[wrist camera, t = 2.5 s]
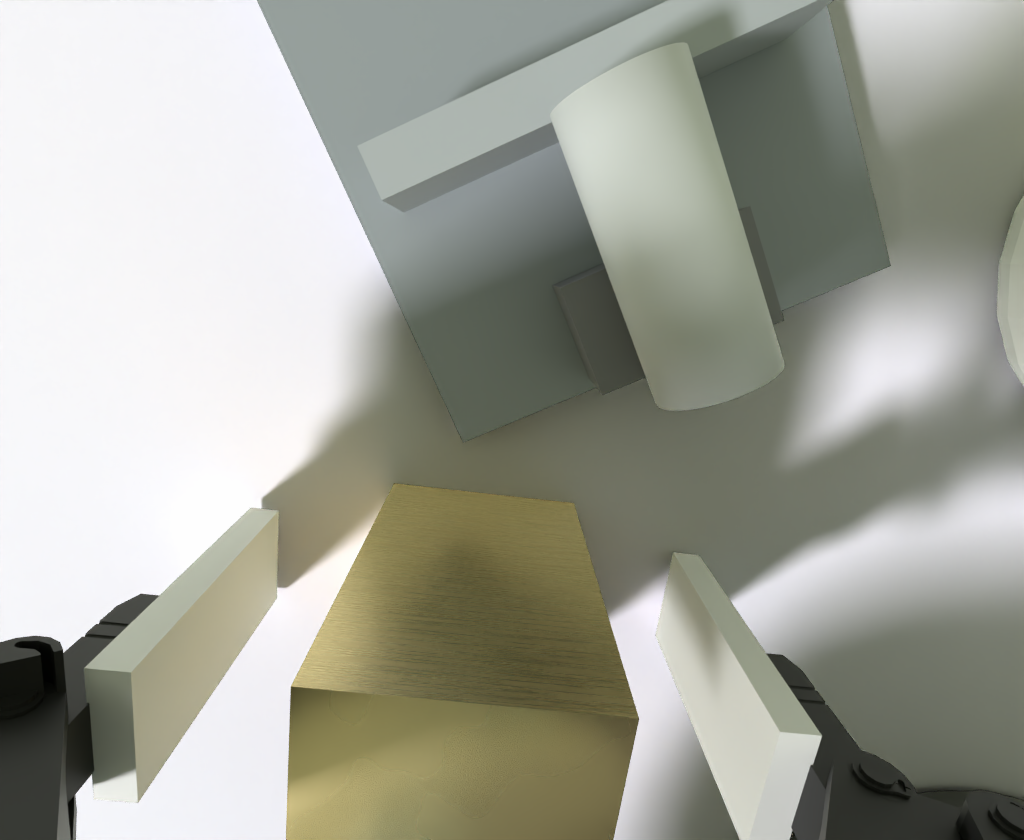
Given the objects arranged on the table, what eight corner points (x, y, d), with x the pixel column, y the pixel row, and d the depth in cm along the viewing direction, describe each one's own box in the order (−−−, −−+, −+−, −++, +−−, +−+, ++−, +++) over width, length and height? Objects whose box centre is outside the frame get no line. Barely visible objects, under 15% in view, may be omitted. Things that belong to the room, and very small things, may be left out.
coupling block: (548, 656, 17) (585, 968, 10) (382, 640, 17) (282, 946, 9) (573, 502, 16) (638, 718, 8) (394, 482, 16) (291, 686, 8)
